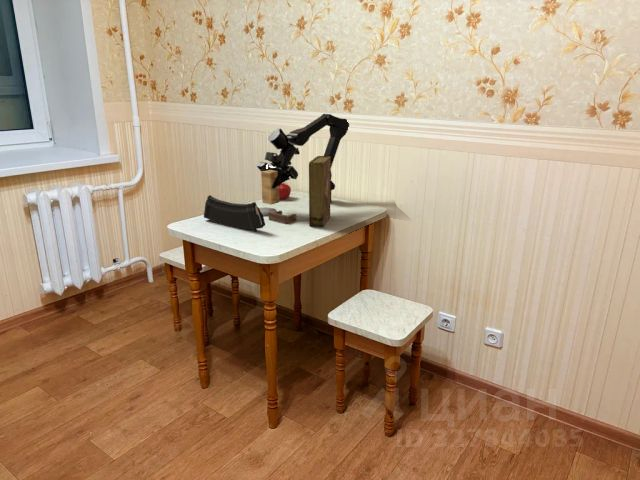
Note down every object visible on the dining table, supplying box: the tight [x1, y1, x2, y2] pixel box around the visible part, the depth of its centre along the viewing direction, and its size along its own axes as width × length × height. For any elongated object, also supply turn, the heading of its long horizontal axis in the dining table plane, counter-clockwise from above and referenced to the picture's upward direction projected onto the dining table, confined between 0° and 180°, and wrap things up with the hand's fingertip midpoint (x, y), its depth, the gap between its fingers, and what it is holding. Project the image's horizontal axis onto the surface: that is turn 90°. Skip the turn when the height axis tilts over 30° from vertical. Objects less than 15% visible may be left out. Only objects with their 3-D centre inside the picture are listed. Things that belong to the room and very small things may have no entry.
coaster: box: [258, 207, 277, 217], centre depth 204 cm, size 11×11×1 cm
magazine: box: [203, 194, 266, 232], centre depth 185 cm, size 17×3×30 cm
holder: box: [268, 210, 297, 225], centre depth 193 cm, size 7×9×3 cm
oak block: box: [260, 170, 281, 206], centre depth 196 cm, size 5×5×13 cm
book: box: [308, 155, 332, 228], centre depth 187 cm, size 16×6×25 cm, turn 168°
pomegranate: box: [279, 182, 292, 201], centre depth 227 cm, size 10×10×9 cm
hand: (268, 187), depth 195 cm, fingers closed on oak block, 5 cm apart
